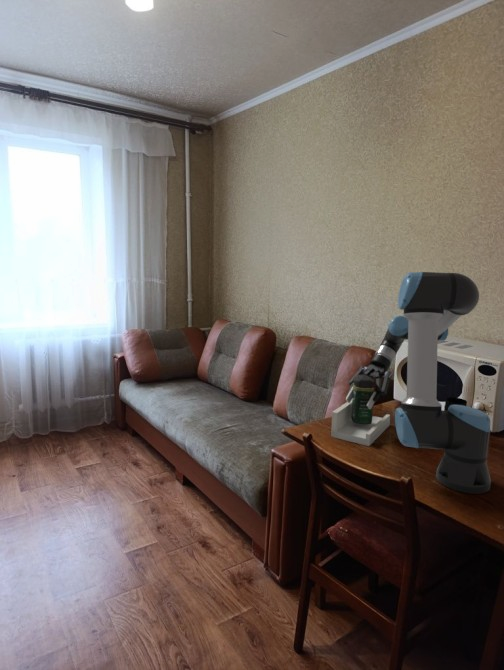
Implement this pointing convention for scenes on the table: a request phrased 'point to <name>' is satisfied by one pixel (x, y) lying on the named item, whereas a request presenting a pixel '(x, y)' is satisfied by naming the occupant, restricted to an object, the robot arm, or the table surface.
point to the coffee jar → (362, 399)
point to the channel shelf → (356, 426)
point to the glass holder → (454, 402)
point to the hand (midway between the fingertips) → (357, 404)
